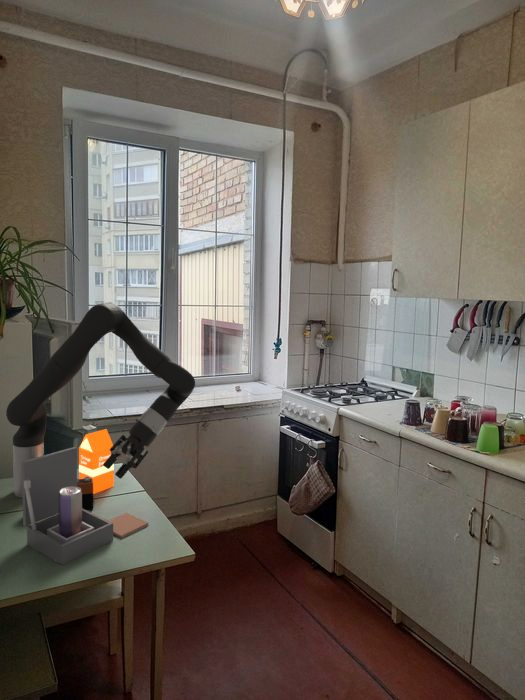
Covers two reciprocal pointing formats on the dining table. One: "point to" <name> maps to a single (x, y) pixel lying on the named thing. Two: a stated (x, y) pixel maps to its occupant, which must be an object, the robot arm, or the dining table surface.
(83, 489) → the battery
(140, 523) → the mat
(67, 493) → the beverage can
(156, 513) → the dining table surface
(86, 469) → the orange juice
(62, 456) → the equipment case
